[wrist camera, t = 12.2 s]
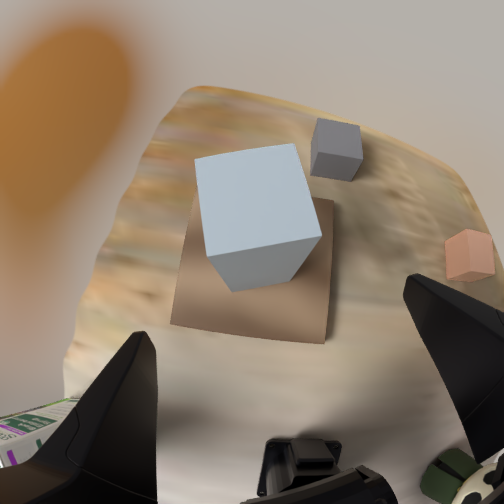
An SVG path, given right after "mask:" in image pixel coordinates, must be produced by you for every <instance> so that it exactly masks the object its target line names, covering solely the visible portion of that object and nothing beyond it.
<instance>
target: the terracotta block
mask: <svg viewBox="0 0 504 504" xmlns="http://www.w3.org/2000/svg"><path fill="white" fill-rule="evenodd" d="M445 253H446V275H447V280H456V281H466V282H474V281H477V280H480V279H483V278H486V277H489V276H492V275H495V264H494V254H493V245H492V237H491V235H489V234H486V233H482V232H478V231H474V230H471V229H465V230H463V231H462V232H460V233H458V234H456V235H455V236H453V237H451V238H449V239H448V240H446V241H445Z"/></svg>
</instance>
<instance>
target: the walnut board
mask: <svg viewBox="0 0 504 504" xmlns="http://www.w3.org/2000/svg"><path fill="white" fill-rule="evenodd" d="M311 198H312V201H313V205H314V208H315V212H316V215H317V219H318V222H319V226H320V230H321V233H322V237H321V238H320V239H319V241H318V242H317V244H316V245H315V247H314V248H313V249H312V251H311V252H310V254H309V255H308V256H307V258H306V259H305V261H304V262H303V263H302V265H301V266H300V268H299V269H298V270H297V272H296V273H295V274H294V276H293V277H292V279H291V280H290V281H289V282H284V283H279V284H274V285H268V286H263V287H258V288H253V289H247V290H242V291H236V292H231V291H230V289H229V288H228V286H227V285H226V284H225V282H224V281H223V279H222V278H221V276H220V275H219V274H218V272H217V271H216V269H215V268H214V266H213V265H212V263H211V262H210V261H209V259H208V258H207V254H206V247H205V240H204V233H203V226H202V218H201V210H200V202H199V194H198V185H197V186H196V191H195V195H194V199H193V203H192V208H191V212H190V217H189V221H188V226H187V231H186V236H185V241H184V246H183V251H182V256H181V261H180V267H179V272H178V278H177V283H176V289H175V295H174V302H173V308H172V314H171V321H170V324H172V325H177V326H183V327H188V328H194V329H200V330H206V331H212V332H218V333H225V334H232V335H239V336H246V337H254V338H262V339H271V340H280V341H290V342H301V343H314V344H324V343H325V335H326V326H327V316H328V306H329V294H330V281H331V266H332V247H333V219H334V201H333V200H327V199H320V198H313V197H311Z"/></svg>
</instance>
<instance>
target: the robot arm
mask: <svg viewBox="0 0 504 504" xmlns="http://www.w3.org/2000/svg"><path fill="white" fill-rule="evenodd" d="M403 298H404V301H405V303H406V306H407V308H408V310H409V312H410V314H411V317H412V319H413V321H414V323H415V326H416V328H417V330H418V332H419V334H420V336H421V338H422V340H423V342H424V344H425V346H426V348H427V349H428V351H429V353H430V355H431V357H432V359H433V361H434V363H435V365H436V367H437V369H438V371H439V373H440V375H441V377H442V379H443V381H444V383H445V385H446V388H447V390H448V392H449V394H450V396H451V399H452V401H453V403H454V405H455V408H456V410H457V413H458V415H459V417H460V420H461V422H462V425H463V428H464V430H465V433H466V435H467V438H468V441H469V444H470V446H471V449H472V452H473V455H474V458H475V461H476V463H477V465H478V464H480V463H482V462H483V461H485V460H486V459H488V458H490V457H491V456H493V455H494V454H496V453H497V452H499V451H500V450H502V449H503V448H504V313H503V312H501V311H499V310H497V309H495V308H493V307H491V306H489V305H487V304H485V303H483V302H481V301H479V300H476V299H474V298H472V297H470V296H468V295H466V294H463V293H461V292H459V291H457V290H455V289H452V288H450V287H448V286H446V285H444V284H441V283H439V282H437V281H434V280H432V279H430V278H428V277H425V276H423V275H421V274H418V273H416V274H412V275H409V276H408V277H407V279H406V283H405V288H404V292H403ZM157 402H158V385H157V363H156V350H155V347H154V345H153V343H152V341H151V340H150V338H149V336H148V334H147V333H146V332H145V331H138V332H133V333H132V334H131V336H130V337H129V338H128V339H127V340H126V342H125V343H124V344H123V345H122V346H121V348H120V349H119V350H118V351H117V353H116V354H115V355H114V356H113V358H112V359H111V360H110V361H109V363H108V364H107V365H106V366H105V368H104V369H103V370H102V371H101V373H100V374H99V375H98V376H97V378H96V379H95V380H94V381H93V383H92V384H91V385H90V387H89V388H88V389H87V390H86V392H85V393H84V394H83V396H82V397H81V398H80V400H79V401H78V402H77V404H76V406H74V407H73V409H72V410H71V411H70V413H69V414H68V415H67V417H66V418H65V419H64V420H63V422H62V423H61V424H60V425H59V427H58V428H57V429H56V430H55V431H54V432H53V434H52V435H51V436H50V437H49V438H48V439H47V440H46V441H45V443H44V444H43V445H42V446H41V447H40V448H39V449H38V450H37V452H36V453H35V454H34V455H33V456H32V457H31V458H30V459H28V460H27V461H25V462H23V463H20V464H16V465H12V466H8V467H3V468H0V504H158V501H157V478H156V428H157ZM270 444H274V446H273V447H270V446H269V445H270ZM335 445H338V446H337V447H336V448H333V447H334V446H335ZM341 448H342V445H341V443H340V442H339V441H323V440H322V439H292V440H291V441H288V440H269V441H267V442H266V446H265V451H264V457H263V462H262V467H261V473H260V478H259V483H258V488H257V495H258V496H259V498H254V499H249V500H247V501H245V502H241V503H240V504H398V501H397V499H396V496H395V494H394V492H393V490H392V488H391V487H390V485H389V484H388V482H387V481H386V479H385V478H384V477H383V476H381V475H380V474H378V473H376V472H374V471H373V470H371V469H369V468H367V467H365V466H363V465H361V466H359V467H357V468H355V469H353V468H351V469H348V470H346V471H344V472H341V471H340V470H339V468H338V466H337V464H338V460H339V456H340V452H341ZM491 485H492V487H493V490H494V491H493V492H491V493H490V494H489V495H488V496H487V497H485V498H484V499H483V500H482V501H480V502H479V503H478V504H504V453H503V454H502V455H501V456H500V457H499V459H498V463H497V466H496V470H495V473H494V477H493V480H492V483H491ZM260 492H265V493H260Z"/></svg>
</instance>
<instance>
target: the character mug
mask: <svg viewBox="0 0 504 504" xmlns="http://www.w3.org/2000/svg"><path fill="white" fill-rule="evenodd" d="M438 458H439V459H440V460H441V461H443V463H441V464H440V465H439V466H438V468H437V467H436V466H434V465H433V464H431V465H430V466H429V468H428V469H427V471H426V472H425V474H424V475H423V477H422V481H421V485H420V488H421V490H422V493H423V494H424V495H426V496H428V497H429V498H431V499H433V500H435V501H437V502H439V503H441V504H478V503H479V502H480V501H482V500H483V499H484V498H485V497H487V496H488V495H489V494H490V493H491V492H493V491H494V490H493V487H492V485H491V483H492V480H493V477H494V473H495V470H496V466H497V463H498V462H497V463H492V464H489V465H486V466H485V467H483V466H482V465H481V464H478V465H477V463H476V461H475V460H474V459H473V458H472V457H471V456H469V455H468V454H466V453H465V452H463V451H461V450H460V449H458V448H457V449H451V450H448V451H447V452H445V453H443V454H442V455H440V456H439V457H438Z"/></svg>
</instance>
